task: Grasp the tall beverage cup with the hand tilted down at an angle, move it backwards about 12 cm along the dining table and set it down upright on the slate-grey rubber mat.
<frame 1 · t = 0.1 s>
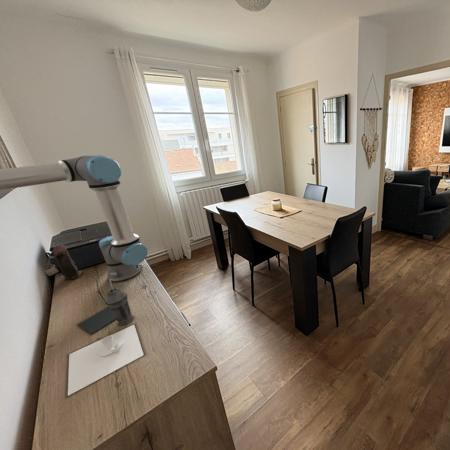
beverage cup: (125, 321, 100), on the table
mat: (101, 319, 101), on the table
teacup and saucer: (106, 355, 85), on the table
statue: (73, 277, 135), on the table
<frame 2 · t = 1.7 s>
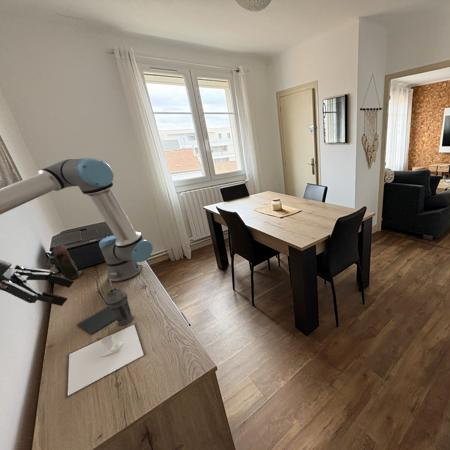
hand: (68, 292, 87), 20 cm above the table, tool tilted 45°, fingers open, 13 cm apart
nothing on the table moved.
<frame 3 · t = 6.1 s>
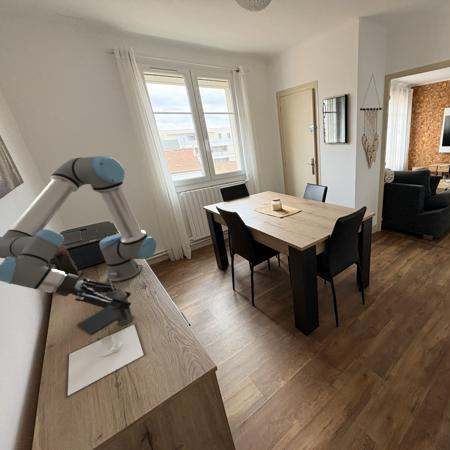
hand: (129, 300, 98), 9 cm above the table, tool tilted 45°, fingers closed on beverage cup, 7 cm apart
beverage cup: (125, 321, 100), on the table, touching gripper
everything else where it was.
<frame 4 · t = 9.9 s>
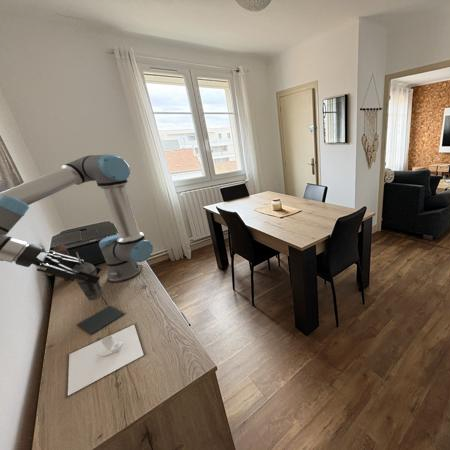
hand: (98, 275, 96), 20 cm above the table, tool tilted 45°, fingers closed on beverage cup, 7 cm apart
beverage cup: (95, 297, 97), point 12 cm above the table, touching gripper
everything else where it was.
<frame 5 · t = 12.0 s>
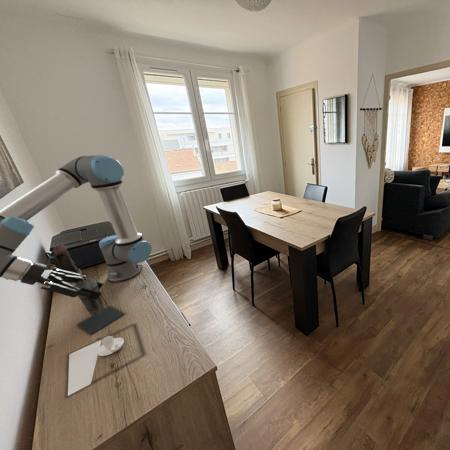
hand: (100, 291, 98), 13 cm above the table, tool tilted 45°, fingers closed on beverage cup, 7 cm apart
beverage cup: (97, 311, 100), point 4 cm above the table, touching gripper
everything else where it was.
when the fingers open (9 cm above the table, at t = 13.6 s): beverage cup stays where it is, resting on mat.
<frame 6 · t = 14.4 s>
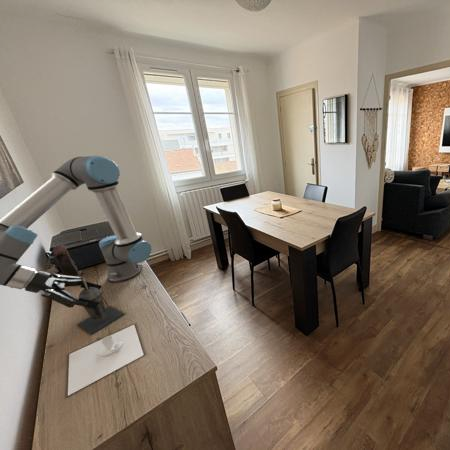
hand: (98, 296, 99), 11 cm above the table, tool tilted 45°, fingers open, 13 cm apart
beverage cup: (101, 319, 101), resting on mat
everything else where it was.
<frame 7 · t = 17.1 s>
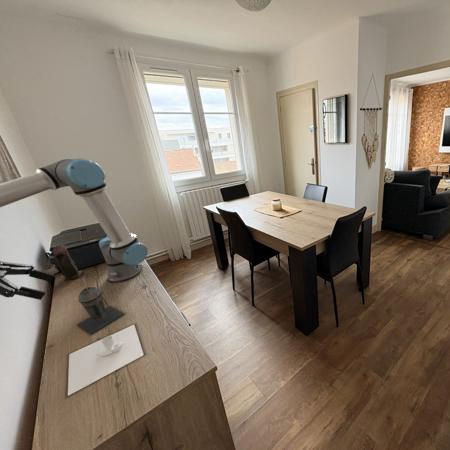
hand: (48, 286, 89), 21 cm above the table, tool tilted 45°, fingers open, 13 cm apart
nothing on the table moved.
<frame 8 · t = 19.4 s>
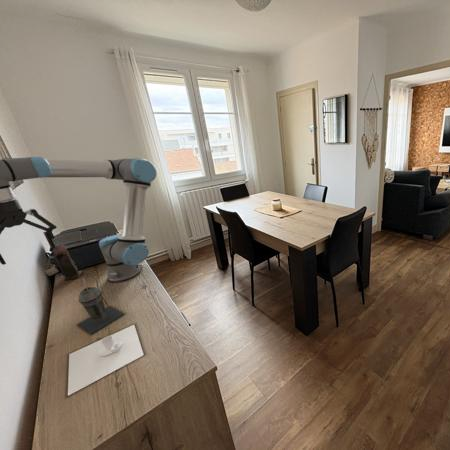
hand: (29, 255, 91), 32 cm above the table, tool pointing down, fingers open, 13 cm apart
nothing on the table moved.
at the end: beverage cup 0.1 cm from the mat (horizontally); beverage cup tilted 0°; the gripper is holding nothing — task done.
